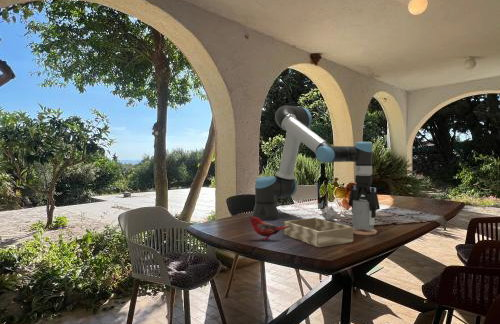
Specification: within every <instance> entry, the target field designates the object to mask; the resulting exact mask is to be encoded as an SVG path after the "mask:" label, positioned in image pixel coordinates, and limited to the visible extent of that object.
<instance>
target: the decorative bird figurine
mask: <svg viewBox="0 0 500 324" xmlns="http://www.w3.org/2000/svg"><path fill="white" fill-rule="evenodd" d="M249 222H250V223H251V226H252V227H253V228H252V229H253V230H254V232H255V233H256V234H257V235H259V236H262V237H263V238H260V240H262V241H265V240H266V241H269V240H270V237H271V236H274V235H276V234H278V233H279V232H281V231H282V230H284V229H285V228H288V227H290V226H286V227H284V226H280V227H279V226H277V225H275V224H272V223H268V222H266V221H264V220H260V219H259V218H257V217H251V219H250V220H249V221H248V223H249Z"/></svg>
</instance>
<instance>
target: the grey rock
mask: <svg viewBox="0 0 500 324" xmlns="http://www.w3.org/2000/svg"><path fill="white" fill-rule="evenodd" d="M338 213H339V212H338V211H336V210H335V209H334V208H333V205H331V206H329V207H328V206H323V210H322V212H321V214H319V215H320V216H321V217H323V218H324V220H327V221H334V222H335V218H336V216H337V214H338Z"/></svg>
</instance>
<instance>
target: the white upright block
mask: <svg viewBox="0 0 500 324" xmlns="http://www.w3.org/2000/svg"><path fill="white" fill-rule="evenodd" d="M369 210H371V209H370V207H369V202H368V201H367V200H353V221H352V227H353V228H357V229H375V226H374V225H375V224H374V225H369Z"/></svg>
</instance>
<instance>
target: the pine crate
mask: <svg viewBox="0 0 500 324" xmlns="http://www.w3.org/2000/svg"><path fill="white" fill-rule="evenodd" d="M286 226H290V227H288V228H285V229H283V235H284V236H287V237H288V238H289V237H290V238H292V239H295V240H297V239H298V241H300V240H301V241H300V242H303V243H305V242H306V244H307V245H308V244H309V245H311V246H314V247H317V248H325V247H330V246H331V247H332V246H335V245H336V246H337V245H343V244H347V243H352V242H354V233H353V228H354V227H353V226H348V225H346V224H342V223H338V222H335V221H334V222H333V221H331V220H326V219H321V218H318V217H311V218H310V217H309V218H301V219H294V220H287V221H286V220H285V221H283V227H286Z"/></svg>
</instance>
